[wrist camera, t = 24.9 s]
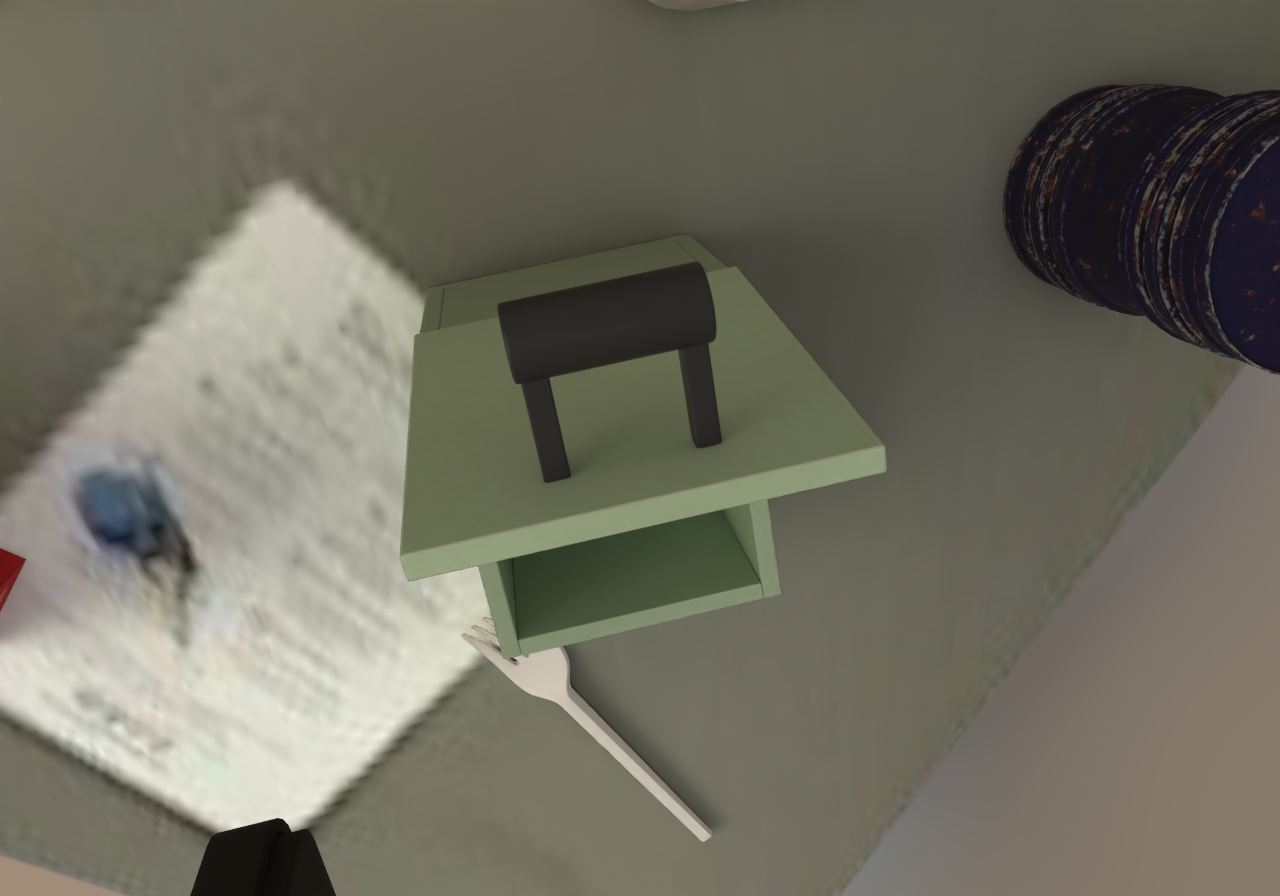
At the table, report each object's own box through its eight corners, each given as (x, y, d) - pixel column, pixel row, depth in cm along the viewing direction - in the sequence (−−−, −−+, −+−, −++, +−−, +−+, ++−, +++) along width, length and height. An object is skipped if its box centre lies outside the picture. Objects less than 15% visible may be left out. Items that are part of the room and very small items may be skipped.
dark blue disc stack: (964, 171, 49) (1158, 219, 35) (1140, 35, 48) (1412, 29, 34) (1059, 332, 52) (1269, 433, 39) (1225, 209, 51) (1502, 267, 38)
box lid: (888, 473, 26) (877, 258, 23) (407, 583, 25) (338, 374, 22) (739, 285, 39) (720, 134, 36) (419, 353, 38) (376, 204, 36)
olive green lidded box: (732, 506, 53) (782, 594, 45) (498, 560, 52) (503, 660, 44) (687, 233, 48) (735, 273, 39) (427, 288, 47) (417, 340, 38)
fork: (683, 847, 60) (690, 870, 59) (453, 622, 53) (452, 641, 51) (728, 814, 60) (736, 837, 58) (503, 583, 53) (504, 602, 51)
